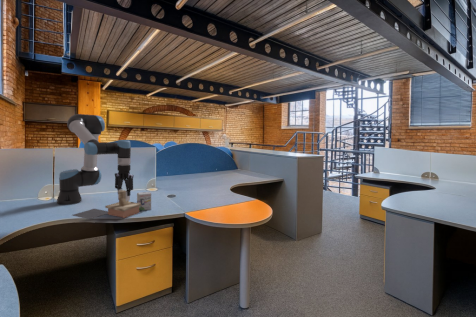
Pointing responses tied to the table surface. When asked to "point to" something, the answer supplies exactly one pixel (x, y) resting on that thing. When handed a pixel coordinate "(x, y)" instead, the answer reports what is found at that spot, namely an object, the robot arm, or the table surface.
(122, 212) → the reddish brown open box
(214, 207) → the table surface
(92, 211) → the mat
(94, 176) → the robot arm
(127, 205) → the light wood slatted piece
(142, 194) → the ink box
